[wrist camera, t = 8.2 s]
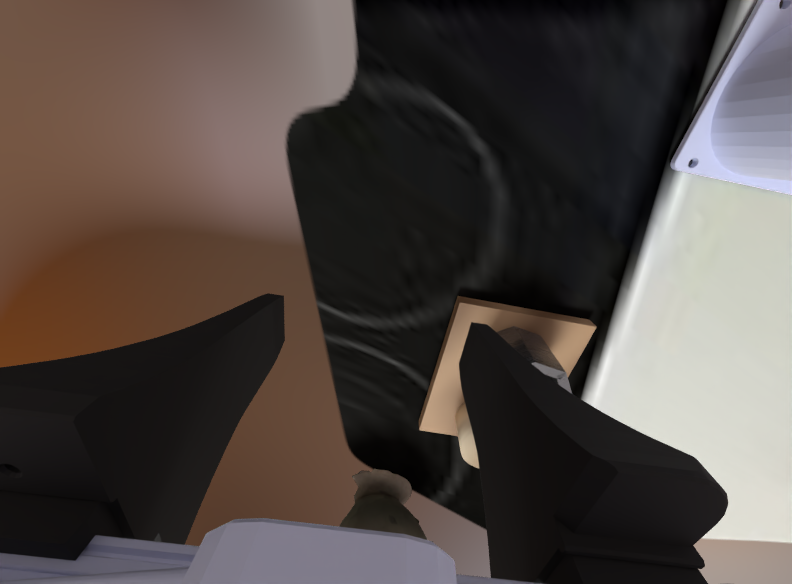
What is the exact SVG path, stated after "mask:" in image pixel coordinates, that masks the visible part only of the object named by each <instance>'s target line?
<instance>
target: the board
mask: <svg viewBox="0 0 792 584" xmlns="http://www.w3.org/2000/svg"><path fill="white" fill-rule="evenodd" d="M471 322H474V323H481V324H487V325H488V326H490V327H491V328H492V329H493V330H494V331H496V332H498V331H500V330H503V329H506V328H509V327H512V326H516V327H519V328H521V329H524V330H527V331H530V332H533V333H535V334H538V335H541V337H542V338H543V340H544V341H545V343H546V344H547V346H548V347H549V348H550V350H551V351H552V353H553V354H554V356H555V357H556V359H557V360H558V361H559V363H560V364H561V366H562V367H563V369H564V370H565V372H566V373H567V377H568V376H569V375H570V373H571V371H572V369H573V368H574V366H575V364H576V362H577V361H578V359H579V357H580V355H581V354H582V352H583V350H584V348H585V347H586V345H587V343H588V341H589V340H590V338H591V336H592V334H593V333H594V331H595V329H596V326H595V325H594V324H593V323H592V322H591V321H590V320H588V319H583V318H577V317H572V316H566V315H561V314H555V313H550V312H544V311H539V310H533V309H527V308H522V307H516V306H511V305H505V304H500V303H494V302H489V301H483V300H478V299H472V298H467V297H461V296H457V300H456V303H455V306H454V309H453V312H452V316H451V319H450V322H449V325H448V329H447V332H446V335H445V338H444V341H443V345H442V348H441V351H440V354H439V357H438V361H437V364H436V367H435V370H434V373H433V377H432V380H431V383H430V386H429V390H428V393H427V396H426V399H425V402H424V406H423V409H422V412H421V415H420V418H419V430H422V431H428V432H435V433H441V434H448V435H454V436H458V439H459V444H460V450H461V455H462V457H463V459H464V460H465V461H466V462H467V463H468V464H470V465H472V466H474V467H477V468H479V462H478V455H477V450H476V445H475V440H474V436H473V432H472V428H471V424H470V421H469V417H468V413H467V409H466V405H465V401H464V397H463V393H462V388H461V381H460V372H459V361H460V358H461V355H462V351H463V348H464V345H465V341H466V338H467V335H468V331H469V328H470V325H471Z"/></svg>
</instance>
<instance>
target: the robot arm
mask: <svg viewBox="0 0 792 584" xmlns="http://www.w3.org/2000/svg"><path fill="white" fill-rule="evenodd" d="M780 1H781V0H758V2H757V4H756V5H755V7H754V9H753V11H752V13H751V15H750V16H749V18H748V20H747V22H746V24H745V26H744V27H743V29H742V31H741V33H740V35H739V37H738V39H737V40H736V42H735V44H734V46H733V48H732V50H731V51H730V53H729V55H728V57H727V59H726V61H725V62H724V64H723V66H722V68H721V70H720V72H719V74H718V75H717V77H716V79H715V81H714V83H713V85H712V86H711V88H710V90H709V92H708V94H707V96H706V97H705V99H704V101H703V103H702V105H701V107H700V108H699V110H698V112H697V114H696V116H695V118H694V120H693V121H692V123H691V125H690V127H689V129H688V131H687V132H686V134H685V136H684V138H683V140H682V142H681V143H680V145H679V147H678V149H677V151H676V153H675V155H674V156H673V158H672V160H671V168H672V169H674V170H676V171H681V172H686V173H690V174H695V175H700V176H705V177H709V178H714V179H719V180H723V181H728V182H733V183H737V184H742V185H747V186H751V187H756V188H761V189H766V190H770V191H775V192H780V193H784V194H789V195H792V0H783V5H782V7H781V8H780V7H779V4H780ZM691 159H692V160H693V162H692V164H691V165H690V166H689V167H688V163H689V161H690V160H691ZM284 341H285V336H284V296H281V295H274V294H265V295H262V296H260V297H257V298H255V299H253V300H251V301H248V302H246V303H244V304H242V305H240V306H237V307H235V308H233V309H231V310H229V311H227V312H224V313H222V314H220V315H217V316H215V317H212V318H210V319H208V320H205V321H203V322H200V323H198V324H195V325H193V326H190V327H187V328H185V329H182V330H179V331H176V332H173V333H170V334H167V335H164V336H160V337H157V338H154V339H150V340H146V341H142V342H138V343H134V344H130V345H127V346H123V347H119V348H115V349H110V350H105V351H101V352H97V353H91V354H86V355H80V356H75V357H70V358H64V359H58V360H51V361H44V362H37V363H30V364H23V365H17V366H9V367H1V368H0V584H708V583H707V581H706V580H705V579H704V577H703V576H702V574H701V573H700V571H699V570H698V569H702V568H703V567H704V566H705V564H704V560H703V559H702V557H701V556H700V555H699V553H698V552H697V551H696V549H695V547H694V546H693V545H694V544H695V543H696V542H697V541H698V540H699V539H701V538H702V537H703V536H704V535H705V534H706V533H707V532H708V531H709V530H710V529H712V528H713V527H714V526H715V525H716V524H717V523H718V522H719V521H720V520H721V518H722V517H723V516H724V514H725V512H726V509H727V506H728V499H727V493H726V492H725V491H724V490H723V488H722V487H721V486H720V485H719V484H718V483H717V482H716V480H715V479H714V478H713V477H712V476H711V475H710V474H709V473H708V471H707V470H706V469H705V468H704V467H703V466H702V465H701V464H700V462H699V461H698V460H697V459H696V458H694V457H693V456H691V455H688V454H686V453H684V452H682V451H679V450H677V449H675V448H673V447H671V446H668V445H666V444H664V443H662V442H659V441H657V440H655V439H653V438H651V437H648V436H646V435H644V434H642V433H640V432H638V431H636V430H634V429H632V428H630V427H629V426H627V425H625V424H623V423H621V422H619V421H617V420H615V419H613V418H611V417H610V416H608V415H606V414H604V413H602V412H601V411H599V410H597V409H596V408H594V407H592V406H591V405H589V404H587V403H586V402H584V401H582V400H581V399H579V398H578V397H576V396H575V395H573V394H571V393H570V392H569V391H567V390H566V389H564V388H563V387H561V386H560V385H559V384H557V383H556V382H554V381H553V380H551V379H550V378H549V377H547V376H546V375H545V374H544V373H542V372H541V371H540V370H539V369H537V368H536V367H535V366H534V365H532V364H531V363H530V362H529V361H528V360H527V359H525V358H524V357H523V356H522V355H521V354H520V353H519V352H517V351H516V350H515V349H514V348H513V347H512V346H511V345H510V344H509V343H508V342H506V341H505V340H504V339H503V338H502V337H501V336H500V335H499V334H498V333H497V332H496V331H494V330H493V329H492V328H491V327H490V326H488V325H487V324H481V323H474V322H471V325H470V328H469V331H468V335H467V338H466V341H465V345H464V348H463V351H462V355H461V358H460V361H459V372H460V381H461V388H462V393H463V397H464V401H465V405H466V409H467V413H468V417H469V421H470V424H471V428H472V432H473V436H474V440H475V445H476V450H477V455H478V462H479V469H480V476H481V483H482V491H483V499H484V507H485V517H486V526H487V536H488V546H489V558H490V571H491V578H487V577H478V576H468V575H459V574H456V569H455V561H454V560H453V559H452V558H451V557H450V556H449V555H448V554H447V553H446V552H444V551H443V550H442V549H441V548H440V547H438V546H437V545H436V544H434V543H433V542H432V541H429V540H425V539H421V538H418V537H414V536H410V535H406V534H399V533H391V532H382V531H373V530H364V529H355V528H346V527H337V526H329V525H320V524H310V523H302V522H292V521H284V520H275V519H266V518H257V519H235V520H233V521H231V522H228V523H227V524H224V525H222V526H220V527H218V528H216V529H214V530H212V531H210V532H208V533H206V535H205V537H204V539H203V541H202V544H201V545H200V546H191V545H185V542H186V540H187V537H188V535H189V532H190V530H191V527H192V525H193V522H194V520H195V517H196V515H197V513H198V510H199V508H200V506H201V503H202V501H203V499H204V496H205V494H206V492H207V489H208V487H209V485H210V482H211V480H212V478H213V476H214V473H215V471H216V469H217V467H218V465H219V462H220V460H221V458H222V456H223V454H224V451H225V449H226V447H227V445H228V443H229V441H230V439H231V437H232V434H233V433H234V431H235V428H236V427H237V425H238V423H239V421H240V419H241V417H242V416H243V414H244V412H245V410H246V409H247V407H248V405H249V403H250V402H251V401H252V399H253V397H254V396H255V394H256V393H257V391H258V389H259V388H260V386H261V385H262V383H263V381H264V380H265V378H266V376H267V375H268V373H269V372H270V370H271V368H272V366H273V365H274V363H275V361H276V359H277V357H278V355H279V353H280V350H281V348H282V345H283V343H284Z"/></svg>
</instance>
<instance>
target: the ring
mask: <svg viewBox="0 0 792 584" xmlns="http://www.w3.org/2000/svg"><path fill="white" fill-rule="evenodd" d="M497 333H498V334H499V335H500V336H501V337H502V338H503V339H504V340H505V341H506V342H508V343H509V344H510V345H511V346H512V347H513V348H514V349H515V350H516V351H517V352H519V353H520V354H521V355H522V356H523V357H524V358H525V359H527V360H528V361H529V362H530V363H531V364H532V365H534V366H535V367H536V368H537V369H539V370H540V371H541V372H542V373H544V374H545V375H546V376H547V377H549V378H550V379H551V380H553V381H554V382H556V383H557V384H559V385H560V386H561V387H563V388H564V389H566V390H567V391H569V392H570V393H571V394H572V392H571V388H570V385H569V381H568V377H567V373H566V372H565V370H564V369H563V367H562V366H561V364H560V363H559V361H558V360H557V359H556V357H555V356H554V354H553V353H552V351H551V350H550V348H549V347H548V346H547V344H546V343H545V341H544V340H543V338H542V337H541V335H538V334H535V333H533V332H530V331H527V330H524V329H521V328H519V327H516V326H512V327H509V328H506V329H503V330H500V331H498V332H497Z"/></svg>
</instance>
